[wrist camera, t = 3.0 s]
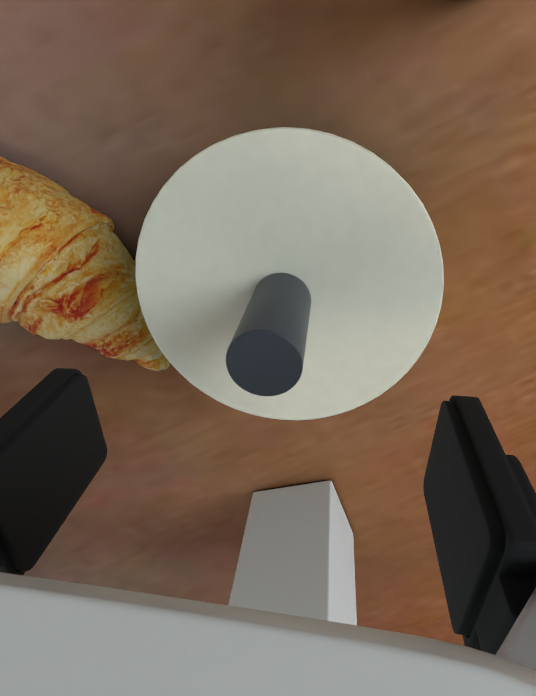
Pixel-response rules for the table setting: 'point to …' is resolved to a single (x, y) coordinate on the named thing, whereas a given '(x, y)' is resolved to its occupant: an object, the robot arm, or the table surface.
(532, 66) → the table surface
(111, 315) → the croissant
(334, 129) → the table surface
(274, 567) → the milk carton
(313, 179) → the lid
